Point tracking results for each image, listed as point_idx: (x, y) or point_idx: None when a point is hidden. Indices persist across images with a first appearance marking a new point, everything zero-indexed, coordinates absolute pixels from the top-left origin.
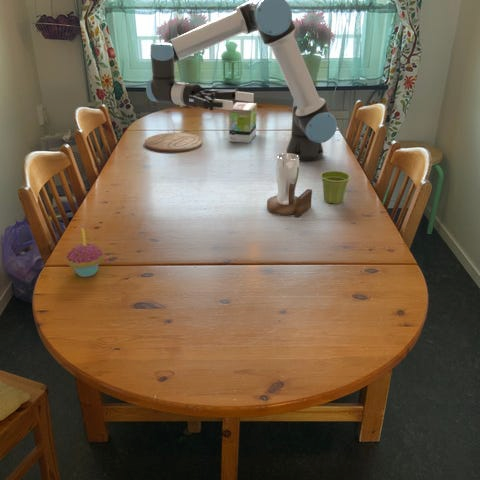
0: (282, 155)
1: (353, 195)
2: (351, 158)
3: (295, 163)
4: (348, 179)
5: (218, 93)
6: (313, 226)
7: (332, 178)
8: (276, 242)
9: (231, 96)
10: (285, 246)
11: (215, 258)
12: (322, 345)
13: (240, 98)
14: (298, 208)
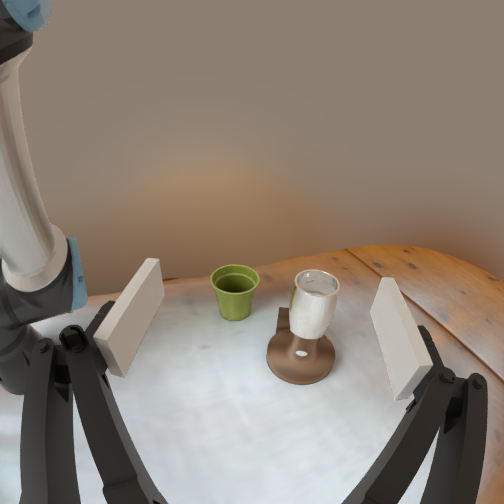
0: (307, 296)
1: (204, 294)
2: None
3: (322, 278)
4: (241, 266)
5: (137, 471)
6: (335, 313)
7: (216, 292)
8: None
9: (107, 390)
10: None
11: (468, 360)
12: (460, 271)
13: (135, 339)
14: None
